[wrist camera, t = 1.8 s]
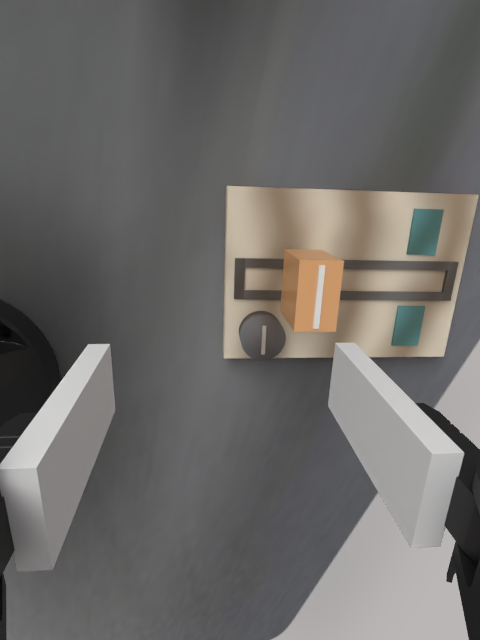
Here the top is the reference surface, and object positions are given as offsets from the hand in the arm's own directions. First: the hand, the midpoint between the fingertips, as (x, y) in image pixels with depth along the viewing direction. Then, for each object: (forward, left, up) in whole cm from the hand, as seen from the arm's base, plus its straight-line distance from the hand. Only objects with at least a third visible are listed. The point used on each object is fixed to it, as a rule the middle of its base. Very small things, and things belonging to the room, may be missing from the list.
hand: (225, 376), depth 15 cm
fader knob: (+7, 0, -17) cm, 18 cm away
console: (+11, 0, -19) cm, 22 cm away
